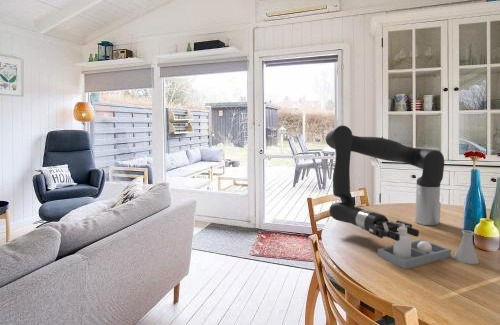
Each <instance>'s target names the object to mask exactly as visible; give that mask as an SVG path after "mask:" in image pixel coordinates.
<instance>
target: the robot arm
mask: <svg viewBox="0 0 500 325" xmlns="http://www.w3.org/2000/svg"><path fill="white" fill-rule="evenodd" d="M325 142H326V144H327V146H328V147H330V148H331V149H334V150H335V161H334V168H333V172H332V173H333V174H332V192H333V196H335V197H337V198H339V199H340V201H341V202H333V203H332V204H331V205H330V206H329V215H330V216H331V218H332V219H334V220H336V221H339V222H343V223H349V224H351V225H354V226H355V227H358V228H361V229H362V230H364V231H366V232H369V234H370V235H373V236H375V237H378V238H380V239H383V238H385V239H386V238H387V239H391V240H393V241H394V240H396V241H399V240H400V235H399V227H401V226H402V224H404V225H405V227H406V228H407V235H409V236H413V237H417V238H418V237H419V235H420V234H419V233H420V230H419V229H416V228H413V225H412V224H411V223H409V222H408V223H407V222H405V221H401V220H396V222H394V221H390V220H389V219H388V217H386V215H383V214H381V213H378V212H375V211H371V210H367V209H364V208H361V207H357V206H355V202H354V200H353V197H352V196H353V195H352V194H351V179H350V178H351V175H350V174H351V173H350V171H351V170H350V168H351V165H350V164H351V155H352V154H351V152H353V153H358V154H361V155H364V156H368V157H370V158H371V157H372V158H375V159H379V160H383V161H388V162H394V163H395V162H396V163H399V162H400V163H404V164H408V165H409V166H410V165H411V166H414V167H416V168H418V169H421V170H422V175H421V176H420V177H417V178H416V186H415V188H416V190H415V214H414V216H415V217H414V221H415V223H417V224H420V225H423V226H438V225H439V224H440V221H441V201H440V198H441V183H442V181H443V178H444V169H445V157H444V155H443V153H442V152H441V151H439V150H436V149H431V148H430V149H428V148H416V147H411V146H410V147H409V146H407V145H404V144H402V143H401V142H397V141H395V140H392V139H389V138H384V137H379V136H378V137H377V136H357V135H354V134H353V131H352V130H351V129H350V128H349V127H348V126H346V125H342V124H341V125H338V126H336V127H334V128H333V129H331V130H329V132H328V133H327V134H326V136H325Z"/></svg>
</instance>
